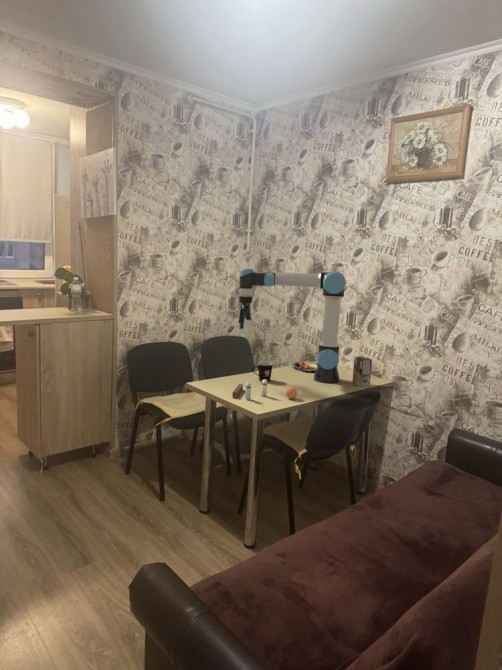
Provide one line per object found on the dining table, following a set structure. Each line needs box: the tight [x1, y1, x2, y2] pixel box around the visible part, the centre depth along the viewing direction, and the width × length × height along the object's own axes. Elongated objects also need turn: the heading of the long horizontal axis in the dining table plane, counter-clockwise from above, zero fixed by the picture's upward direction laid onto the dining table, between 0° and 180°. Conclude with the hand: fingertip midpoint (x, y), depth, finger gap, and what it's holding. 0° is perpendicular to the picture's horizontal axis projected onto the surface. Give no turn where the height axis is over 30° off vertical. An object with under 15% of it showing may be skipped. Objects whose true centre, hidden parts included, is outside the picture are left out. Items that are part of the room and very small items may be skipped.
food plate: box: [291, 359, 318, 372], centre depth 306 cm, size 25×23×4 cm
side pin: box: [245, 381, 252, 401], centre depth 233 cm, size 2×2×8 cm
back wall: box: [232, 383, 244, 399], centre depth 243 cm, size 2×16×3 cm, turn 170°
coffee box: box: [352, 355, 373, 388], centre depth 268 cm, size 9×6×16 cm
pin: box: [261, 380, 268, 398], centre depth 240 cm, size 2×2×8 cm
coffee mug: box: [251, 361, 274, 383], centre depth 271 cm, size 12×9×10 cm
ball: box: [284, 386, 298, 400], centre depth 238 cm, size 6×6×6 cm
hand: (244, 332), depth 268 cm, fingers open, 13 cm apart
